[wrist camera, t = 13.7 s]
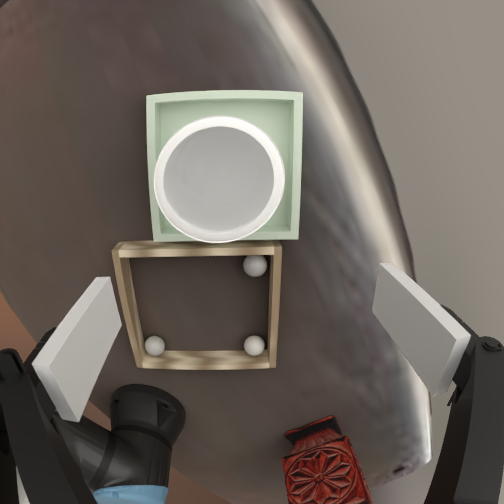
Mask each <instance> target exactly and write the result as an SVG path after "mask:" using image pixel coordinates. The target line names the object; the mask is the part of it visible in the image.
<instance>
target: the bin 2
mask: <svg viewBox="0 0 504 504" xmlns="http://www.w3.org/2000/svg"><path fill="white" fill-rule="evenodd" d="M230 255H270V280H269V310H268V336H267V349H265V350H263V352H262V353H261V354H259V355H256V356H252V355H249V354H248V353H247V352H246V351H245V350H237V351H167V350H164V351H163V353H162V354H160V355H158V356H153V355H150V354H149V353H148V352H147V351H146V349H145V342H144V338H143V333H142V329H141V324H140V319H139V314H138V309H137V304H136V299H135V293H134V288H133V282H132V276H131V270H130V263H129V257H177V256H230ZM112 256H113V262H114V268H115V274H116V279H117V285H118V290H119V295H120V300H121V304H122V309H123V313H124V318H125V322H126V326H127V331H128V335H129V339H130V343H131V346H132V350H133V354H134V358H135V361H136V365H137V368H155V369H186V370H227V369H259V368H275V367H276V352H277V336H278V319H279V301H280V282H281V260H282V246H281V243H280V241H279V239H275V240H236V241H231V242H226V243H209V242H203V241H174V242H154V241H120V242H119V243H118V244H117V245H116V246H115V247H114V248H113V249H112Z"/></svg>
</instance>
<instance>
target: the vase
mask: <svg viewBox="0 0 504 504" xmlns="http://www.w3.org/2000/svg"><path fill="white" fill-rule="evenodd" d="M285 436H286V438H287V439H288V440H289V441H290V442H291V443H292V444H293V445H294V447H293V448H292V450H291V452H290V453H289V454H288V455H287V456H285V457H284V458H282V459H281V460H282V463H283V469H284V473H285V484H286V489H287V496H288V502H289V504H373V502H372V499H371V495H370V492H369V489H368V486H367V483H366V480H365V477H364V475H363V472H362V469H361V466H360V463H359V461H358V459H357V457H356V454H355V452H354V450H353V447H352V445H351V443H350V440H349V438H348V436H343V435H342V433H341V431H340V428H339V426H338V423H337V421H336V419H335V417H333V416H328V417H326V418H324V419H321V420H319V421H316V422H313V423H311V424H309V425H307V426H304V427H302V428H300V429H298V430H290V431H288V432H287V433H286V435H285Z"/></svg>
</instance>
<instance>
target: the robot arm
mask: <svg viewBox="0 0 504 504" xmlns="http://www.w3.org/2000/svg"><path fill="white" fill-rule="evenodd" d="M372 312H373V313H374V315H375V316H376V317H377V319H378V320H379V321H380V323H381V324H382V325H383V327H384V328H385V329H386V331H387V332H388V334H389V335H390V336H391V338H392V339H393V340H394V342H395V343H396V345H397V346H398V347H399V349H400V350H401V352H402V353H403V354H404V356H405V357H406V359H407V360H408V361H409V363H410V364H411V366H412V367H413V368H414V370H415V371H416V373H417V374H418V376H419V377H420V379H421V380H422V382H423V383H424V384H425V386H426V387H427V389H428V390H429V392H430V393H431V395H432V396H434V395H438V394H441V393H444V392H446V391H447V390H448V388H449V386H450V384H451V382H452V380H453V381H454V382H455V384H456V385H457V386H456V389H455V391H454V392H453V395H452V396H451V398H450V400H449V402H448V404H447V406H450V403H451V402H452V405H451V410H450V415H449V420H448V424H447V429H446V433H445V437H444V441H443V445H442V449H441V453H440V456H439V460H438V463H437V466H436V470H435V473H434V476H433V479H432V482H431V485H430V488H429V491H428V494H427V497H426V499H425V502H424V504H498V499H499V494H500V488H501V482H502V475H503V466H504V347H503V345H502V344H501V343H500V342H499V341H498V340H496V339H494V338H491V337H486V336H484V337H479V336H478V335H477V334H475V332H474V331H473V330H472V329H471V328H470V327H468V325H466V324H465V323H464V322H462V320H461V319H460V318H459V317H457V315H456V314H455V313H454V312H453V311H452V310H451V309H448V308H447V307H445V306H443V305H439V304H438V303H437V302H436V301H435V300H434V299H433V298H432V297H431V296H429V295H428V294H427V293H426V292H425V291H424V290H423V289H422V288H421V287H420V286H418V285H417V284H416V283H415V282H414V281H413V280H412V279H411V278H409V277H408V276H407V275H406V274H405V273H404V272H403V271H401V270H400V269H399V268H398V267H397V266H396V265H395V264H393V263H379V270H378V277H377V283H376V290H375V296H374V301H373V307H372ZM121 326H122V324H121V320H120V316H119V313H118V309H117V304H116V300H115V296H114V292H113V287H112V283H111V278H110V277H96V278H95V280H94V281H93V282H92V283H91V285H90V286H89V287H88V288H87V290H86V291H85V292H84V293H83V295H82V296H81V297H80V298H79V300H78V301H77V302H76V303H75V305H74V306H73V307H72V309H71V310H70V311H69V313H68V314H67V315H66V317H65V318H64V319H63V321H62V322H61V323H60V325H59V326H58V327H54V328H52V329H51V330H49V331H48V332H47V333H45V335H44V336H43V337H42V339H41V340H40V343H38V344H37V345H36V347H35V349H34V350H33V351H32V352H31V354H30V355H29V357H28V358H27V359H26V361H25V362H24V364H23V362H22V360H21V358H20V356H19V354H18V352H17V351H16V350H14V349H10V348H8V349H3V350H1V351H0V504H98V503H99V504H165V502H166V497H167V493H168V481H169V471H170V462H171V452H172V446H173V444H174V443H175V441H176V439H177V438H178V436H179V434H180V432H181V431H182V429H183V427H184V422H185V411H184V408H183V406H182V405H181V404H180V402H179V401H178V400H177V399H175V398H174V397H173V396H171V395H170V394H168V393H167V392H165V391H163V390H160V389H158V388H155V387H151V386H147V385H140V384H132V385H126V386H123V387H120V388H119V389H117V390H116V391H115V392H114V394H113V396H112V399H111V402H110V418H111V432H110V431H109V430H107V429H105V428H103V427H101V426H100V425H98V424H96V423H95V422H93V421H91V420H90V419H88V418H86V417H85V416H83V415H82V413H83V411H84V408H85V406H86V403H87V401H88V399H89V396H90V394H91V391H92V389H93V387H94V384H95V382H96V380H97V378H98V375H99V373H100V371H101V368H102V366H103V364H104V362H105V360H106V357H107V355H108V353H109V351H110V349H111V347H112V344H113V342H114V340H115V338H116V336H117V334H118V332H119V330H120V328H121ZM89 489H91V490H93V493H91V491H90V490H89Z"/></svg>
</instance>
